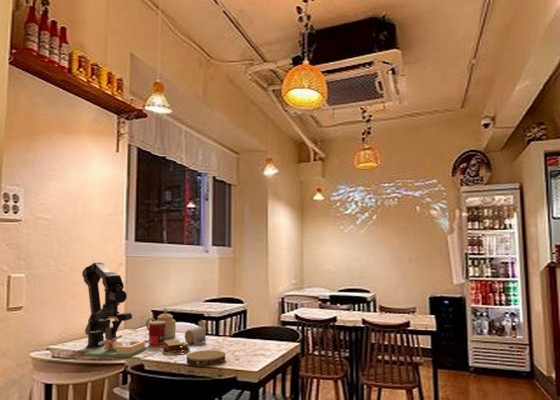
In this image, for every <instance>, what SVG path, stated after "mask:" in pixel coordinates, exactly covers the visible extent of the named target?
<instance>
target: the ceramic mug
mask: <svg viewBox="0 0 560 400" xmlns="http://www.w3.org/2000/svg"><path fill="white" fill-rule="evenodd" d="M206 335H207V334H206V330H205V329H204V327H203V326H197V327H193V328H190V329H188V330H186V331H185V333H184V340H185V342H186V344H188V345H198V346H204V345H205V344H206V341H207V340H206Z"/></svg>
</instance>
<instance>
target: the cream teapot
mask: <svg viewBox="0 0 560 400" xmlns="http://www.w3.org/2000/svg"><path fill="white" fill-rule="evenodd" d="M173 317H174V315H172V314H170V313H168V310H167V308H164V309H163V313H161V314H159V315H158V316H157V319H156V320H155V318H153V317H149V318H148V319H146V321H145V322H146V323H145V326H146V330H147V331H149V322H150V321H151V320H152V321H165V340H166V339H172V338H174V337H176V324H177V323H176V319H174V318H173Z"/></svg>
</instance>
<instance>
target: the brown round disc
mask: <svg viewBox="0 0 560 400" xmlns="http://www.w3.org/2000/svg"><path fill="white" fill-rule="evenodd" d="M225 361H226V352H224V351H222V350H213V349H211V350H209V349H208V350H198V351H197V350H196V351H193V352H190V353H187V355H186V363H188V364H187V365H190V366H192V367H193V366H194V367H212V366H216V365H221V364H223V363H225Z"/></svg>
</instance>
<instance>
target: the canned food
mask: <svg viewBox="0 0 560 400" xmlns="http://www.w3.org/2000/svg"><path fill="white" fill-rule="evenodd" d="M148 326H149V330H148V345H149V346H150V347H161V346H160V345H162V346H164V341H166V339H165V321H156V320H155V321H153V320H152V321H149V322H148Z"/></svg>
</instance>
